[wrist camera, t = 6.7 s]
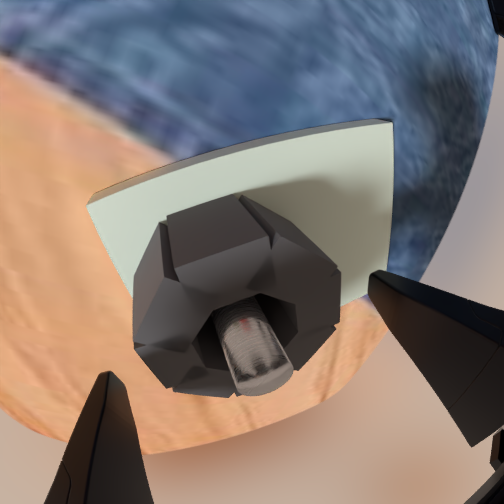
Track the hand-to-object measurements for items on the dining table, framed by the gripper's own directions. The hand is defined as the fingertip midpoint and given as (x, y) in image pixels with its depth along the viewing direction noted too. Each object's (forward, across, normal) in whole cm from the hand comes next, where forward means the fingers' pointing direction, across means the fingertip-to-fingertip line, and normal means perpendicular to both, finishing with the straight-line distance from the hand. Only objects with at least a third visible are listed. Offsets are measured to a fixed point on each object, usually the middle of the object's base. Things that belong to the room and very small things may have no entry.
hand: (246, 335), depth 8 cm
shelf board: (+4, -2, 0) cm, 5 cm away
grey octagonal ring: (+3, 0, 0) cm, 3 cm away
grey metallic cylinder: (+4, 0, 0) cm, 4 cm away
